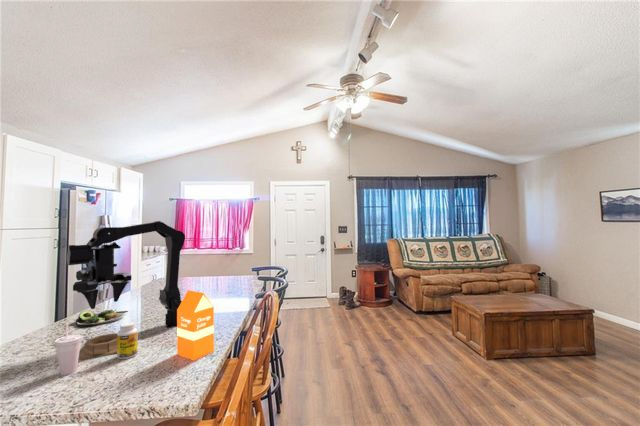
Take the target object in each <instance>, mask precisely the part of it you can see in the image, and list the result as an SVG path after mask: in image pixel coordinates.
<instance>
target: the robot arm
mask: <svg viewBox="0 0 640 426" xmlns="http://www.w3.org/2000/svg"><path fill="white" fill-rule="evenodd" d="M153 232H156V233H157V234H158V235H160V236H161V237H162V238H164V241H165V247H166V249H167V260H166V261H167V262H166V276H165V286H164V288H163V289H159V296H158V297H159V298H158V300H159V301H160V304H161V305H162V306H164V308H165V309H166V310H167V311H166V313H165V315H164V316H165V317H164V318H165V326H166V328H175V327H177V309H178V308H179V306H180V304H181V302H182V299H181V292H180V289H179V283H178V282H179V272H180V271H179V269H180V256H181V251H182V249H183V247H184V244H185V242H186V234H185V232H183V231H182V230H176V228H173V227H171V226H170V225H167V224H166V223H165V222H163V221H161V220H155V221H152V222H147V223H141V224H134V225H129V226H128V225H127V226H120V227H119V226H117V227H116V226H115V227H114V226H113V227H110V226H109V227H104V226H102V227H99V228H96V229H95V230H94V231H93V234H92V237H91V238H90V240H89V241H88V242H87V243H86V244H78V245H76V244H70V245H69V244H68V245H67V247H68V248H67V253H66V264H67V266H77V265H85V264H86V265H87V264H90V262H92V261H93V260H94V265H91V267H90V270H87V271H86V270H85V269H81V270H78V271H76V274H75V277H76V280H77V281H76V282H74V284H73V285H72V291H73V292H77V293H78V294H79V293H80V294H81V295H83V296H84V298H85V299H86V301H87V303H88V306H89V308H90V309H91V310H94V309H96V305H97V299H98V296H99V295H98V294H99V290H100V289H97V288H98V287H99V286H101V285H105V284H110V285H111V286H112V296H113V302H115V303H117V302H118V301H119V298H120V297H121V295H122V293H123V291H124V289H125V288H126V286H127V285H128V284H129V283H130V281H132V274H131V273H130V272H118V273H116V272H115V268H116V267H117V265H118V263H115V250H116V249H117V250H118V249H121V245H119V244H117V242H116V241H118V240H120V239H123V238H124V239H125V238H126V237H131V236H137V235H142V234H148V233H153ZM109 243H110V244H109Z"/></svg>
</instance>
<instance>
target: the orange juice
mask: <svg viewBox="0 0 640 426" xmlns="http://www.w3.org/2000/svg"><path fill="white" fill-rule="evenodd" d="M181 301H182V302H181V304H180V306H179V308H178V309H177V326H176V337H177V339H176V343H177V344H176V349H177V351H176V352H177V355H179V356H181V357H184V358H187V359H190V360H192V361H195V360H197V359H198V360H199V359H201V358H202V357H203V356H206V355H208V354H211V353H213V352H215V339H214V337H215V335H214V334H215V324H214V319H215V318H214V317H215V315H214V313H215V311H214V309H215V308H214V307H215V306H213V304H212V303H211V302H210V299H208V297H207V295H206V294H205V293H204V292H199V291H196V290H195V291H194V290H189V289H188V290H187V291H186V293H185V295H184V297H183V299H181Z"/></svg>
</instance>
